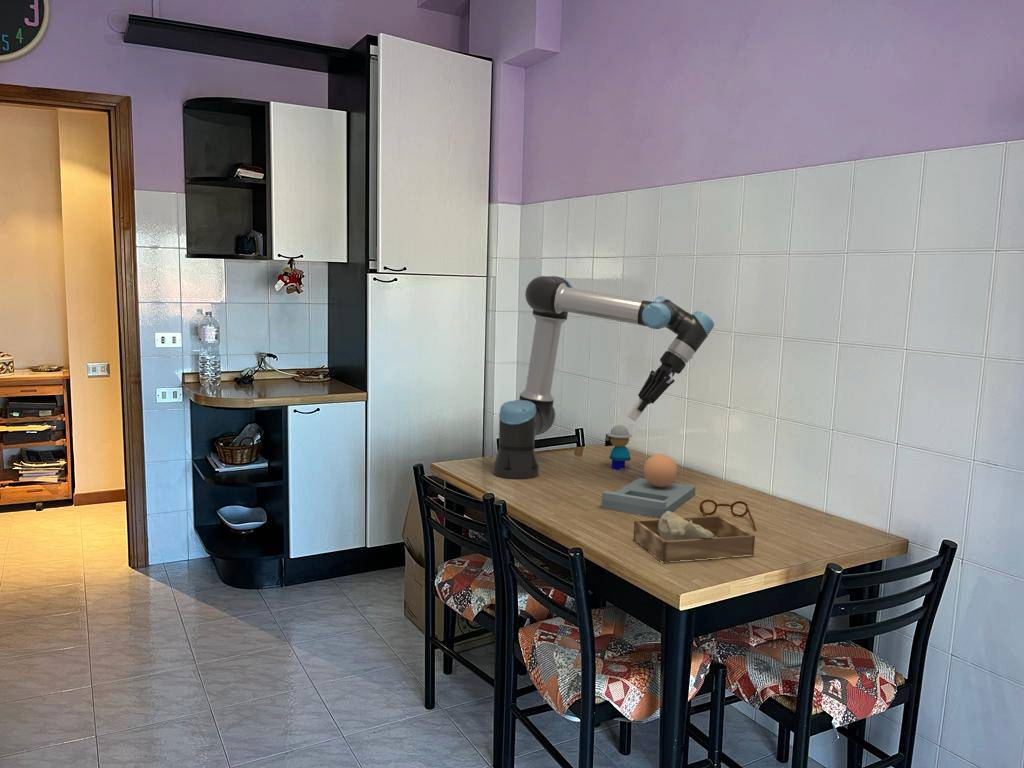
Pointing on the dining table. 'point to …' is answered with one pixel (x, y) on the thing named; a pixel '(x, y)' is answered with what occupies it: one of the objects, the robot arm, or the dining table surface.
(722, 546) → the wooden tray
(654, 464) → the ball
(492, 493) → the dining table surface
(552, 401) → the robot arm
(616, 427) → the toy
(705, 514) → the glasses
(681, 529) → the beige irregular lump
